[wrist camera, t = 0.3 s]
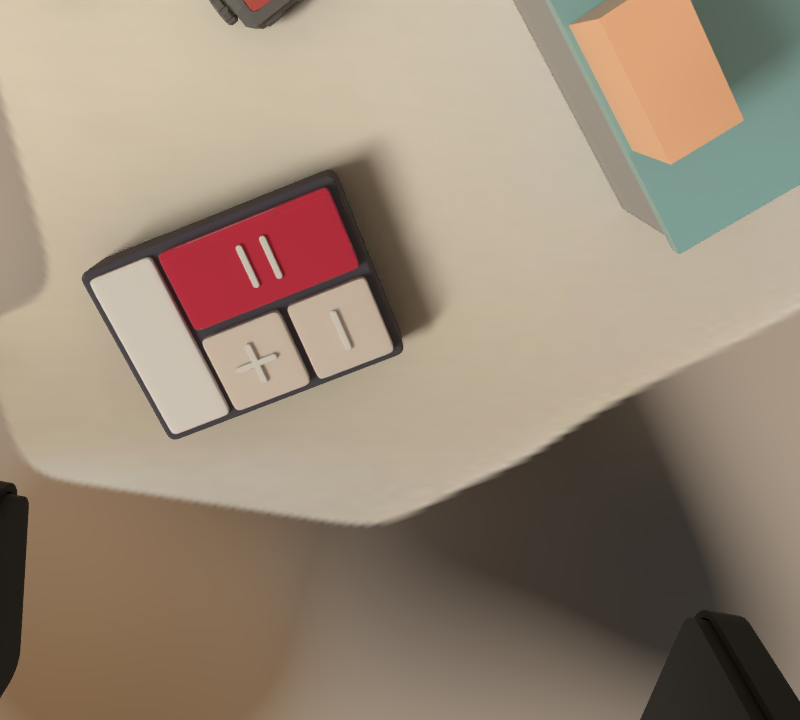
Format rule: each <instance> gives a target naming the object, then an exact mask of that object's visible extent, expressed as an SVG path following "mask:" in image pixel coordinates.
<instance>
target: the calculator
mask: <svg viewBox="0 0 800 720" xmlns="http://www.w3.org/2000/svg"><path fill="white" fill-rule="evenodd" d="M82 281H83V284H84V285H85V287H86V289H87V291H88V293H89V295H90V296H91V298H92V300H93V302H94V304H95V305H96V307H97V309H98V311H99V313H100V314H101V316H102V318H103V320H104V322H105V323H106V325H107V327H108V329H109V331H110V332H111V334H112V336H113V338H114V340H115V342H116V343H117V345H118V347H119V349H120V351H121V352H122V354H123V356H124V358H125V360H126V361H127V363H128V365H129V367H130V369H131V370H132V372H133V374H134V376H135V378H136V379H137V381H138V383H139V385H140V387H141V388H142V390H143V392H144V394H145V396H146V397H147V399H148V401H149V403H150V405H151V406H152V408H153V410H154V412H155V414H156V416H157V417H158V419H159V421H160V423H161V425H162V426H163V428H164V430H165V432H166V433H167V435H168V436H169V437H170V438H171V439H179V438H182V437H185V436H187V435H190V434H193V433H195V432H198V431H200V430H203V429H206V428H208V427H211V426H213V425H216V424H219V423H221V422H224V421H227V420H229V419H232V418H234V417H237V416H240V415H242V414H245V413H247V412H250V411H253V410H255V409H258V408H261V407H263V406H266V405H268V404H271V403H274V402H276V401H279V400H281V399H284V398H287V397H289V396H292V395H294V394H297V393H300V392H302V391H305V390H308V389H310V388H313V387H315V386H318V385H321V384H323V383H326V382H328V381H331V380H334V379H336V378H339V377H342V376H344V375H347V374H349V373H352V372H355V371H357V370H360V369H362V368H365V367H368V366H370V365H373V364H376V363H378V362H381V361H383V360H386V359H389V358H391V357H394V356H396V355H399V354H400V353H401V352H402V350H403V343H402V338H401V333H400V330H399V327H398V325H397V322H396V320H395V317H394V315H393V312H392V310H391V308H390V305H389V303H388V300H387V298H386V295H385V293H384V290H383V288H382V285H381V283H380V280H379V278H378V275H377V273H376V271H375V268H374V266H373V263H372V261H371V258H370V256H369V253H368V251H367V248H366V246H365V243H364V241H363V239H362V236H361V234H360V231H359V229H358V226H357V224H356V221H355V219H354V216H353V214H352V211H351V209H350V207H349V204H348V202H347V199H346V197H345V194H344V192H343V189H342V187H341V184H340V182H339V180H338V177H337V175H336V173H335V172H334V171H332V170H326V171H323V172H320V173H318V174H315V175H313V176H310V177H308V178H305V179H303V180H300V181H298V182H295V183H293V184H290V185H288V186H285V187H283V188H280V189H278V190H275V191H273V192H270V193H268V194H265V195H263V196H260V197H258V198H255V199H253V200H250V201H248V202H245V203H243V204H240V205H238V206H236V207H233V208H231V209H228V210H226V211H223V212H221V213H218V214H216V215H213V216H211V217H208V218H206V219H203V220H201V221H198V222H196V223H193V224H191V225H188V226H186V227H183V228H181V229H179V230H176V231H174V232H171V233H169V234H166V235H163V236H160V237H157V238H154V239H152V240H149V241H147V242H144V243H142V244H139V245H137V246H134V247H132V248H129V249H127V250H124V251H122V252H119V253H117V254H114V255H112V256H109V257H107V258H105V259H103V260H101V261H100V262H98V263H97V264H96V265H94V266H93V267H92V268H90V269H89V270H88V271H86V272H85V273H84V274H83V276H82Z"/></svg>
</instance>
